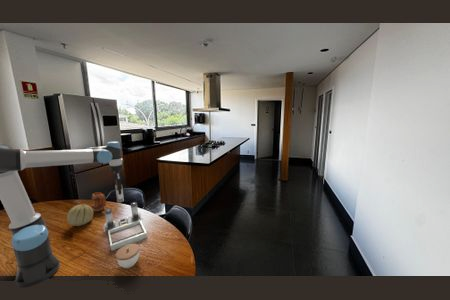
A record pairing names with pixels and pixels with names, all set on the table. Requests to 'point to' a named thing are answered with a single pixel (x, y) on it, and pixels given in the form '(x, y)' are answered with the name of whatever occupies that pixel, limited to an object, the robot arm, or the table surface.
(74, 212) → the cantaloupe
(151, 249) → the table surface
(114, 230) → the tray
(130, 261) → the lidded jar
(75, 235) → the table surface
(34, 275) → the robot arm
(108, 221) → the fuse left
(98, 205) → the mug
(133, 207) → the fuse right
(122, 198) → the marked fuse
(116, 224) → the fuse holder
